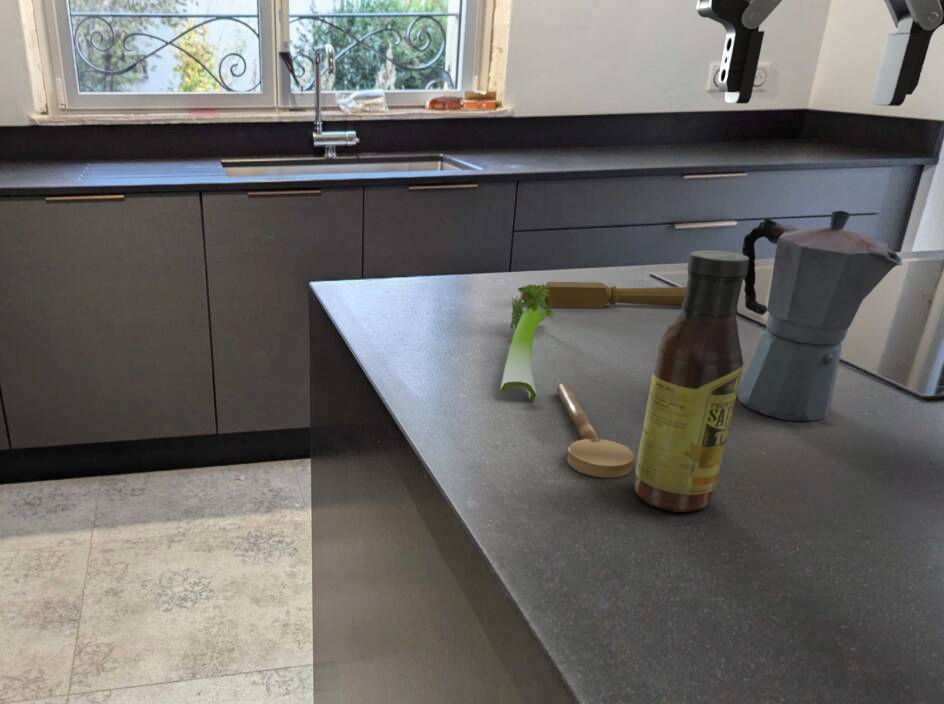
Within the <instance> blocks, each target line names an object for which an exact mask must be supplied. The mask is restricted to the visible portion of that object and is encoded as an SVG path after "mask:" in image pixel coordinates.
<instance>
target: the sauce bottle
mask: <svg viewBox="0 0 944 704" xmlns="http://www.w3.org/2000/svg"><path fill="white" fill-rule="evenodd" d="M748 264H749V258H748V257H747V256H745V255H743V253H738V252H733V251H726V250H695V251H691V253H690V255H689V258H688V263H687V282H686V287H687V288H686V293H685V298H684V301H683V302H682V306H681V311H682V312H681V313H680V315H679V316H677V317H676V319H675V321H674V322H673V323H672V324H670V325H668V327H667V329H666V331H665V332H664V333H663V334H662V336H661V337H660V343H659V346H658V347H657V358H656V363H655V369H654V370H653V371H652V376H651V382H650V387H649V393H648V398H647V403H646V409H645V414H644V419H643V425H642V431H641V435H640V440H639V441H640V442H639V447H638V451H637V460H636V464H635V479H634V485H633V487H634V491H635V492H634V493H635V494H636V495H637V496H638V499H640V500H641V501H643V502H644V503H646V504H648V505H649V506H651V507H654V508H657V509H662V510H665V511H668V512H673V513H684V512H685V513H687V512H689V513H690V512H695V511H700V510H703V509H704V508H706V507H707V506H708V505H709V504H710V503H711V501H712V497H713V493H714V491H715V489H716V487H717V484H718V479H719V476H720V475H719V474H720V470H721V466H722V461H723V456H724V452H725V448H726V444H727V439H728V436H729V435H728V434H729V430H730V426H731V421H732V417H733V413H734V409H735V403H736V399H737V391H738V388H739V386H740V383H741V382H740V381H741V378H742V373H743V367H744V358H743V352H742V348H741V347H742V346H741V343H740V335H739V329H738V327H739V326H738V321H737V314H738V312H739V310H738V305H739V299H740V294H741V292H742V286H743V282H744V278H745V276H746V275H747V271H748Z"/></svg>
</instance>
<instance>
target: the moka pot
mask: <svg viewBox="0 0 944 704" xmlns="http://www.w3.org/2000/svg"><path fill="white" fill-rule="evenodd" d="M850 217H851V213H850V212H847V211H844V210H835V211H832V212H831V215H830V222H829V223H830V224H829V226H828V227H817V228H816V227H815V228H797V227H795V226H793V225H788V224H779V223H778V222H776V221H774V220H772V219H770V218H764V220H763V221H761V222H760V223H758V224H759V225H758V226H755V227H754V228H753V229H751V231H750V232H749V233H748V234H746V235H745V236H744V237H743V244H742V245H743V246H742V252H741V253H742V255H745V256H747V257H748V258H749V264H748V271H747V275H746V276H745V278H744V279H743V282H744V284H745V285H744V290H743V291H744V293H745V295H744V306H745V308H746V309H747V310H749V311H752V312H753V313H755V314H758V315H761V316H763V315H765V314H766V313H768V316H767V319H766V323H765V327H766V328H765V330H764V331H763V333H762V335H761V336H760V339H759V341H758V344H757V346H756V348H755V351H754V353H753V355H752V356H751V358H750V361H749V364H748V366H747V368H746V370H745V372H744V375H743V377H742V380H741V382H739V386H738V391H737V395H736V398H737V399H738V400H739V401H740V402H741V403H742V404H744V406H746V408H749V409H751V410H753V411H755V412H759V413H760V414H763V415H764V416H768V417H772V418H774V419H779V420H786V421H790V422H791V421H792V422H815V421H819V420H821V419H824V418H825V417H827V415H828V414H829V411H830V409H831V405H832V400H833V396H834V390H835V384H836V379H837V373H838V368H839V363H840V360H841V353H842V346H843V344H842V342H843V341H844V340H845V338H846V337H847V334H848V331H849V328H850V327H851V325H852V323H853V322H854V319H855V317H856V315H857V314H858V311H859V309H860V306H861V305H862V303H863V301H865V299H866V298H867V297H868V296H869V295H870V294H871V293H872V292H873V290H874V289H875V288H876V287H877V286H878V285H879V284H880V283H881V282H882V281H883V279H885V277H886V276H887V275H888V274H889V273H890V272H891V271H892V270H893V269H894V268H895V267H897V266H902V265H903V258H902V257H900V256H899V255H898V254H897V252H895V251H894V250H892V249H890V248H889V247H888V243H886V242H883V241H880V240H877V239H875V238H871V237H869V236H867V235H866V236H865V235H863V234H860V233H856V232H854V231H850V230H847V229H845V227H846V224H847V223H848V221H849V219H850ZM761 238H765V239H767V240H768V242H769V243H772V244H774V245H776V248H775V253H774V261H773V266H772V274H771V281H770V286H769V287H770V288H769V293H768V295H769V296H768V301H767V305H765V304H762V303H760V302H758V301H757V300H756V299H757V293H756V289H755V285H756V250H755V244H756V242H757V241H758V240H759V239H761Z"/></svg>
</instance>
